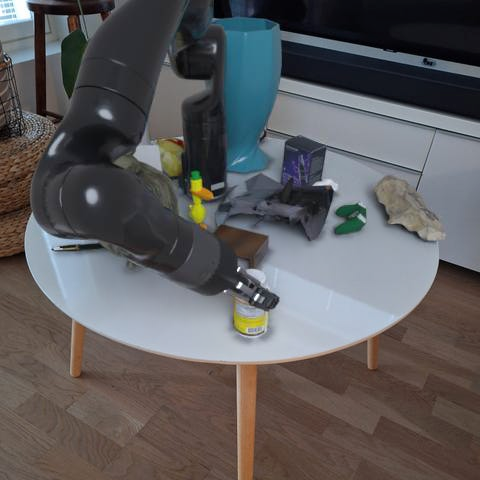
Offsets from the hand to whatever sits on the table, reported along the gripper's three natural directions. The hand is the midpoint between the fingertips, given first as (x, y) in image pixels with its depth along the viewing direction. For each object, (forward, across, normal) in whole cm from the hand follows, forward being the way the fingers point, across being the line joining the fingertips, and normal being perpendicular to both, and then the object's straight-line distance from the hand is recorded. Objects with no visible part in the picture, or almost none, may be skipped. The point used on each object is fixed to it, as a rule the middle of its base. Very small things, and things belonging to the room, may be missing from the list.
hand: (260, 292), depth 70 cm
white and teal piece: (+1, +34, -7) cm, 35 cm away
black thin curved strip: (+37, +53, -32) cm, 72 cm away
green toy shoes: (+29, +9, -20) cm, 37 cm away
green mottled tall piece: (0, +26, +9) cm, 27 cm away
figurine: (+32, +20, -23) cm, 44 cm away
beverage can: (+14, +56, -5) cm, 58 cm away
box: (+32, +28, -23) cm, 48 cm away
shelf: (+11, +17, -3) cm, 20 cm away
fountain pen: (-3, +37, +11) cm, 39 cm away
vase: (+32, +48, -23) cm, 62 cm away
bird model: (+23, +19, -14) cm, 33 cm away
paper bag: (+21, +20, -12) cm, 31 cm away
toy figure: (+12, +28, -3) cm, 31 cm away
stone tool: (+32, -7, -25) cm, 41 cm away
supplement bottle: (+3, 0, +6) cm, 7 cm away
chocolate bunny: (+14, +54, -12) cm, 57 cm away
